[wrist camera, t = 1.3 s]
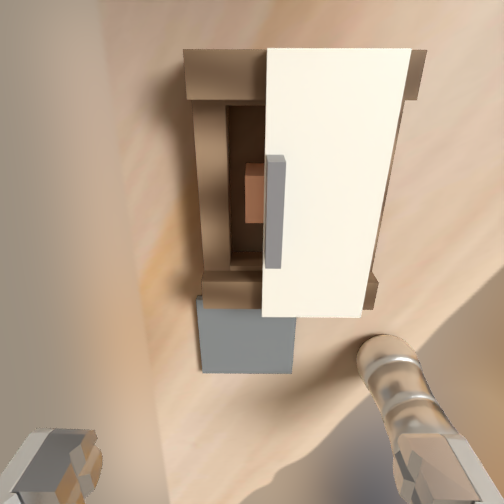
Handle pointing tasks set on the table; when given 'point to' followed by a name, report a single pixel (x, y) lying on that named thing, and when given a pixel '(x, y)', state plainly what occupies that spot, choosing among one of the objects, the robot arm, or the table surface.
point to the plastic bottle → (400, 389)
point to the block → (254, 192)
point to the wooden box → (218, 167)
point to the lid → (326, 174)
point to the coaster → (245, 341)
